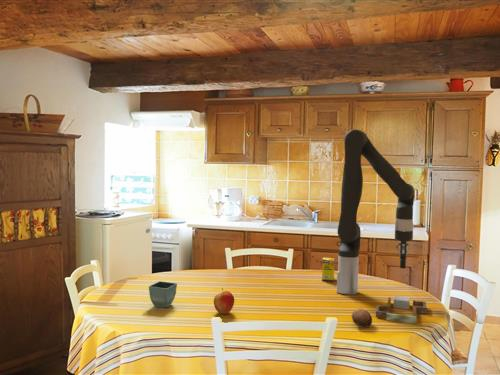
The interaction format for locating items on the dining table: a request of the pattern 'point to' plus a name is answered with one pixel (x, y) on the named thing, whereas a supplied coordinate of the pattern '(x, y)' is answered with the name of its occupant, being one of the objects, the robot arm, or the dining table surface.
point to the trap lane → (385, 313)
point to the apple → (224, 302)
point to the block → (401, 302)
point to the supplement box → (328, 269)
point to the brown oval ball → (362, 318)
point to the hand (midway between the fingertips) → (402, 268)
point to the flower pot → (162, 293)
